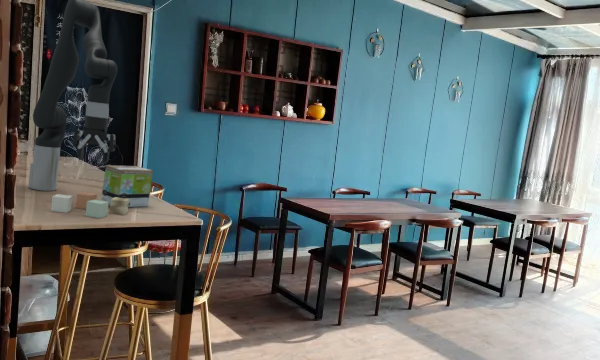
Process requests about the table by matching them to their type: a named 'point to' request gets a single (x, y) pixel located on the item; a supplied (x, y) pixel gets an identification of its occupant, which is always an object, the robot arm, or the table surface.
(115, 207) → the maple cube
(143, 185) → the tea box
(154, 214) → the table surface
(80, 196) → the terracotta cube
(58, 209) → the cream cube
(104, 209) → the sage cube
